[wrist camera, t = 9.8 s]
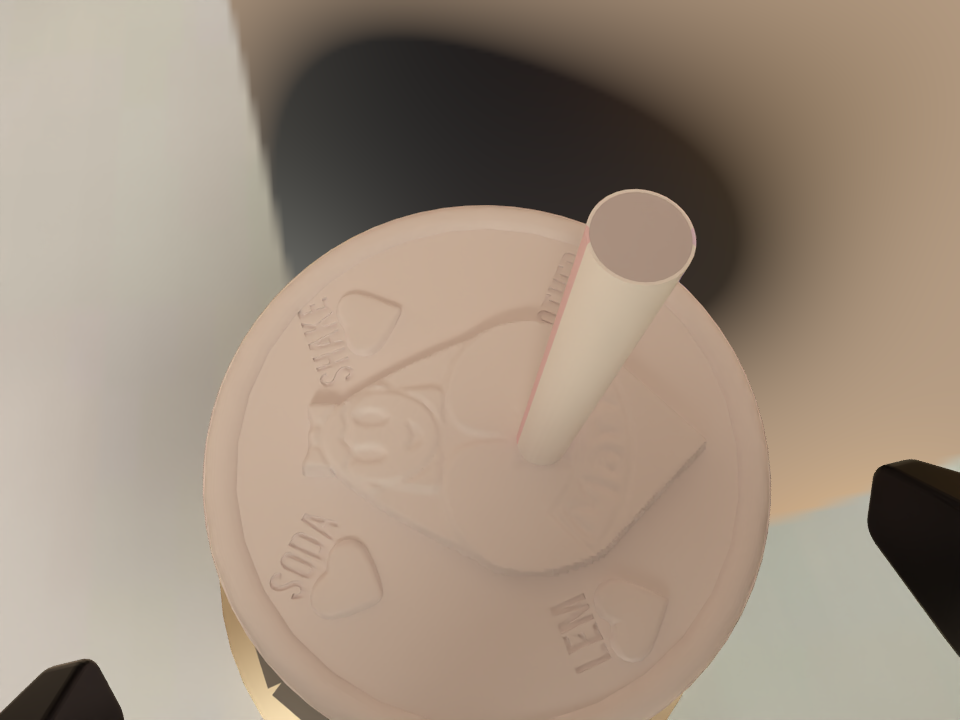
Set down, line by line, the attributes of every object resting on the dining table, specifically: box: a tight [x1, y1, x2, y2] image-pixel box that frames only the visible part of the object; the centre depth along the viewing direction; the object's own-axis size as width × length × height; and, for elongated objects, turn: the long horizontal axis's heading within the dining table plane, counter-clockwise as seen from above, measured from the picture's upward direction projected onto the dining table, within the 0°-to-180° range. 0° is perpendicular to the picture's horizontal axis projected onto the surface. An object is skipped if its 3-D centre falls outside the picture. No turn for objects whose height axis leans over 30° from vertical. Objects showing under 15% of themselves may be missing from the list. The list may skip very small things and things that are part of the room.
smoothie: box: [203, 189, 771, 720], centre depth 10 cm, size 6×6×14 cm
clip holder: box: [220, 582, 683, 720], centre depth 15 cm, size 12×12×4 cm
